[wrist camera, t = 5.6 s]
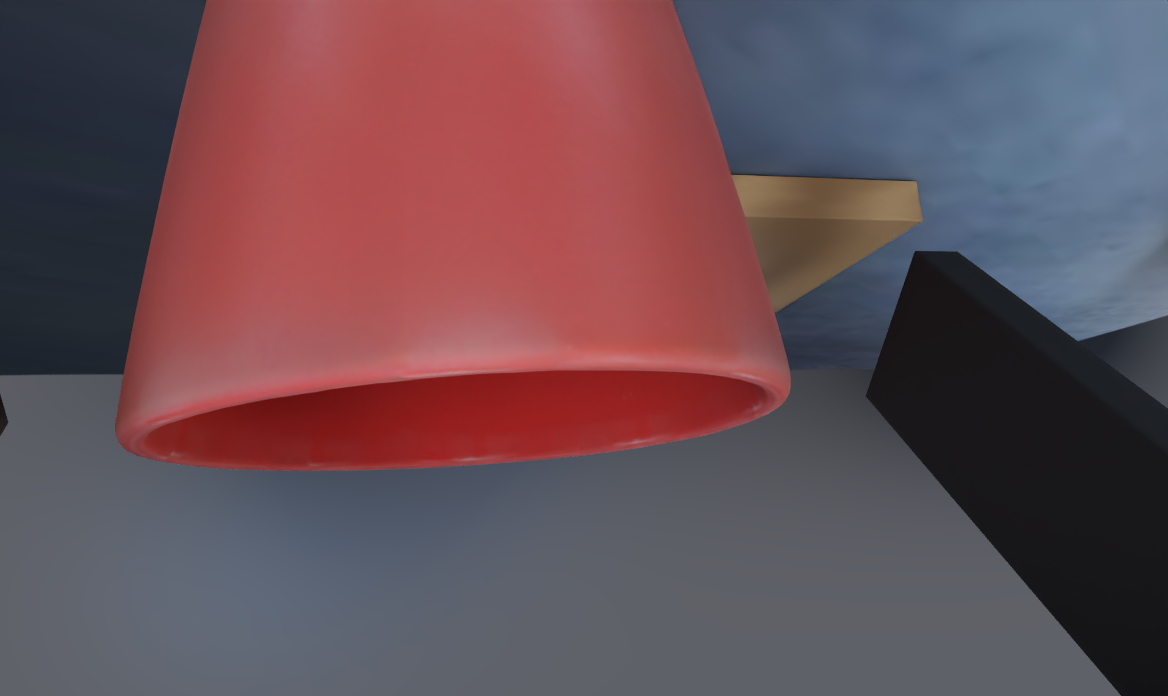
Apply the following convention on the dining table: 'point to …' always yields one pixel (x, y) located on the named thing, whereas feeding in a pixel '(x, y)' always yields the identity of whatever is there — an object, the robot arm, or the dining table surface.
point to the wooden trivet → (820, 226)
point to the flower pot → (444, 243)
